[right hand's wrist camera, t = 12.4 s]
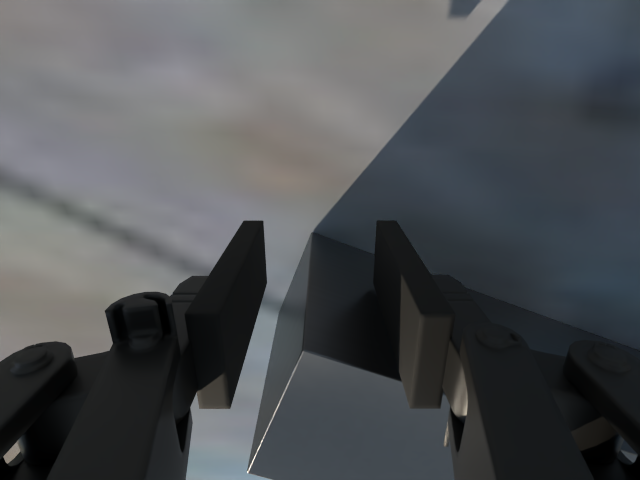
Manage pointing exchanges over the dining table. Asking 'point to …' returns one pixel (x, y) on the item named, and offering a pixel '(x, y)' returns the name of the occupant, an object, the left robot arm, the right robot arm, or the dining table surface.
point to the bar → (360, 379)
